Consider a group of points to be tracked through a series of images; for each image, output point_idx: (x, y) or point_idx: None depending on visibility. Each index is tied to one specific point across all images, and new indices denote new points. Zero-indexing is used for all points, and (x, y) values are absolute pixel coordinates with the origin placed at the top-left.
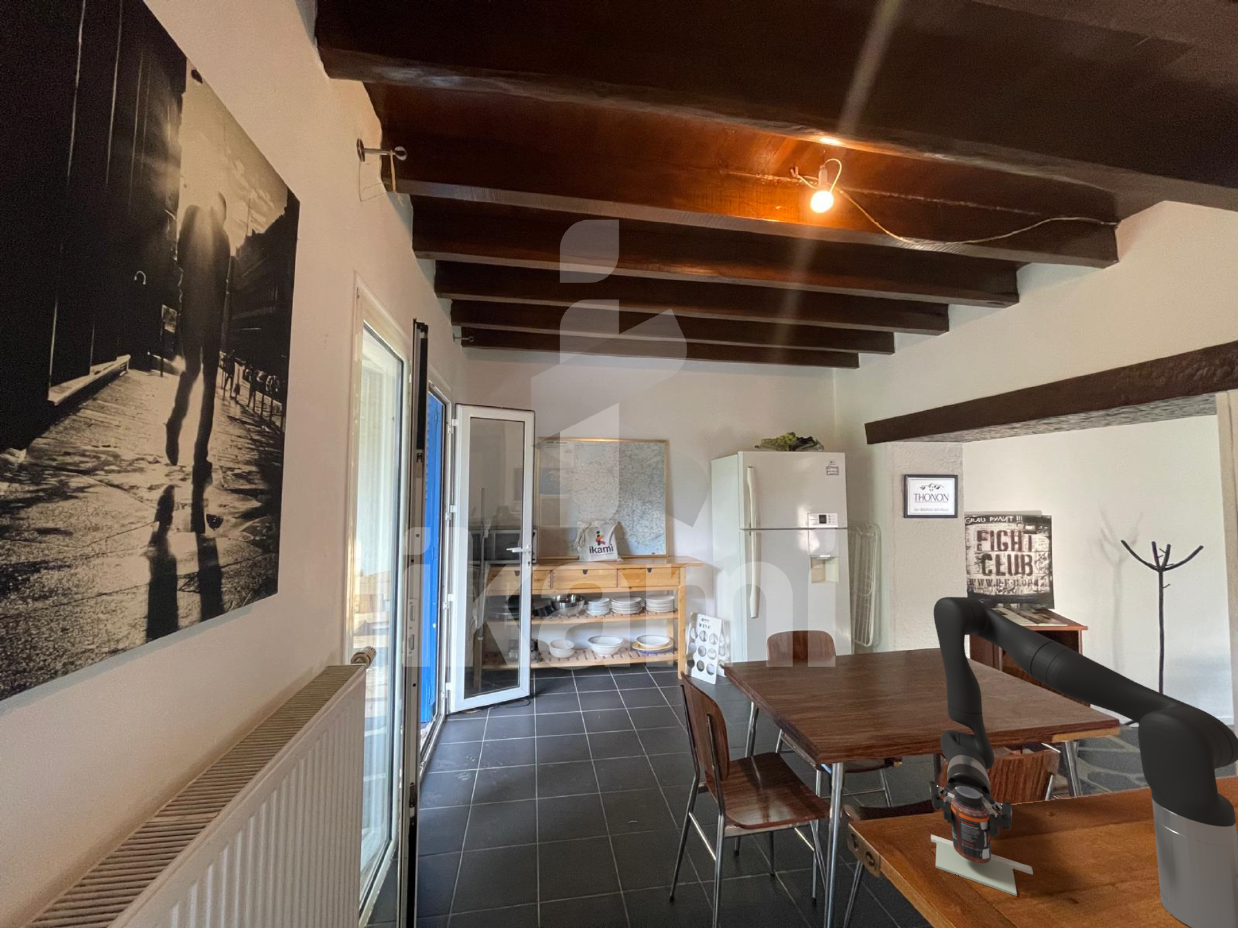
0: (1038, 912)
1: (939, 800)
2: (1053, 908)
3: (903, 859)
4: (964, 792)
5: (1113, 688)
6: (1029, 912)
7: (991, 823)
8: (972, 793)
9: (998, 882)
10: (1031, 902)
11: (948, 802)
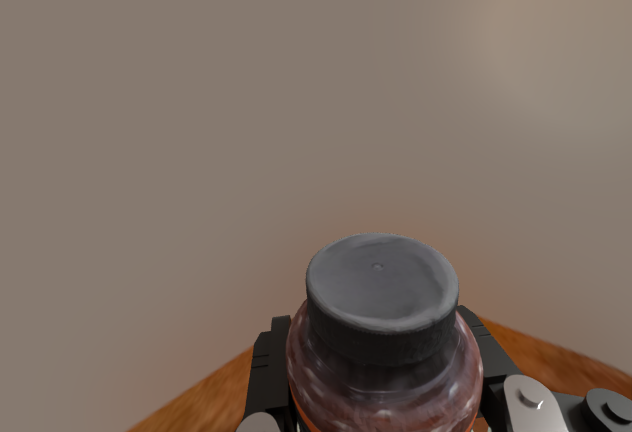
0: (225, 379)
1: (560, 394)
2: (181, 425)
3: (512, 358)
4: (393, 253)
5: None
6: (245, 365)
7: (281, 324)
8: (353, 265)
9: (298, 426)
10: (230, 409)
11: (498, 373)
